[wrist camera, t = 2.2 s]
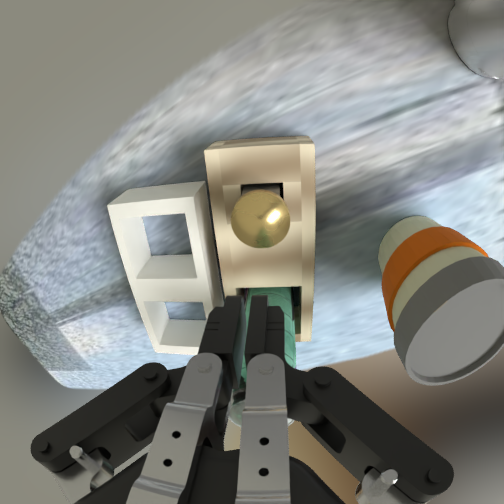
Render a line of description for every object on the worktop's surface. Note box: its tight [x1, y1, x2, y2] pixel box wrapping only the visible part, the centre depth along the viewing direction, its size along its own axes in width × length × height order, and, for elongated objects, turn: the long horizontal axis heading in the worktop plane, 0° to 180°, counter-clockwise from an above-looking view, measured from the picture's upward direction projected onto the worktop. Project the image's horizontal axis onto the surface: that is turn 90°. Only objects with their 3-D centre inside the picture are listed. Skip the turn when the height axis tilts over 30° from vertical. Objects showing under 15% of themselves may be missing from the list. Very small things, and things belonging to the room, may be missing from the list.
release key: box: [231, 183, 290, 248], centre depth 25 cm, size 4×4×6 cm
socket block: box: [204, 136, 315, 342], centre depth 31 cm, size 22×9×5 cm, turn 4°
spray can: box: [229, 286, 296, 427], centre depth 28 cm, size 6×6×20 cm
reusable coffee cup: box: [378, 216, 504, 385], centre depth 26 cm, size 13×12×15 cm
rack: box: [107, 181, 224, 355], centre depth 34 cm, size 20×9×5 cm, turn 4°
